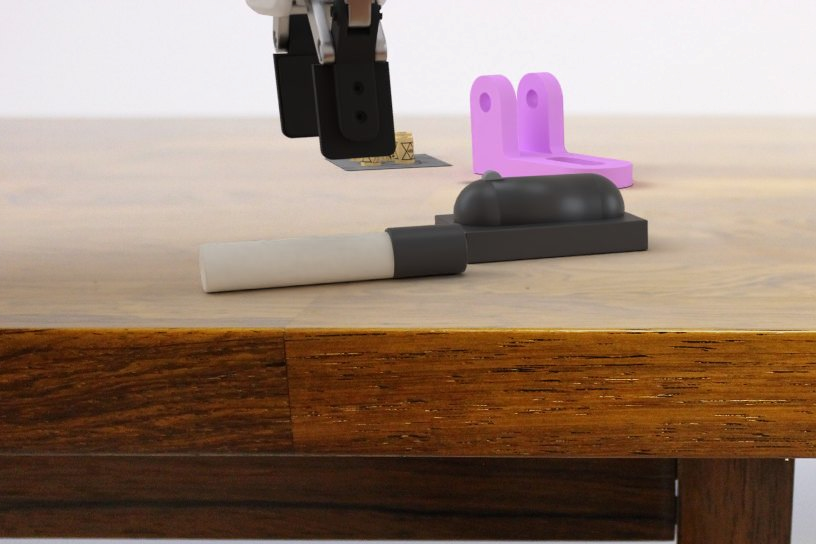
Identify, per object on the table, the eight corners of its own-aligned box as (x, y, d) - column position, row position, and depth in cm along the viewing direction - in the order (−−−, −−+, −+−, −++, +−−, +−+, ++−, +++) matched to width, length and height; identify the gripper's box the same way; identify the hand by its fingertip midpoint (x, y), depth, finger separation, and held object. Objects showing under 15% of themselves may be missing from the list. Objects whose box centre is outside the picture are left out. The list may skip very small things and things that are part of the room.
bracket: (473, 172, 108) (468, 74, 106) (534, 166, 112) (530, 70, 110) (587, 191, 100) (584, 85, 97) (649, 184, 103) (648, 80, 101)
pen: (207, 303, 68) (205, 260, 66) (198, 272, 69) (196, 229, 68) (466, 282, 73) (470, 241, 71) (453, 253, 74) (456, 213, 73)
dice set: (410, 156, 117) (409, 131, 117) (427, 163, 113) (426, 137, 112) (346, 159, 115) (344, 133, 115) (361, 166, 111) (359, 140, 110)
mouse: (466, 263, 75) (462, 180, 74) (435, 244, 80) (431, 165, 79) (648, 249, 79) (647, 170, 78) (608, 232, 84) (606, 157, 83)
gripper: (180, -239, 69) (226, 134, 75) (234, -296, 55) (287, 173, 60) (341, -233, 72) (374, 125, 78) (434, -286, 58) (466, 160, 63)
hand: (336, 145), depth 69 cm, fingers open, 9 cm apart
